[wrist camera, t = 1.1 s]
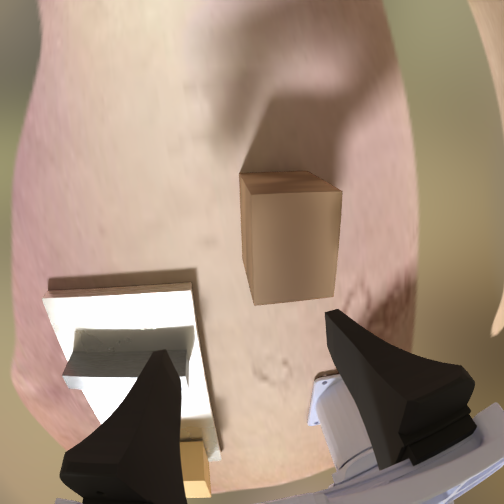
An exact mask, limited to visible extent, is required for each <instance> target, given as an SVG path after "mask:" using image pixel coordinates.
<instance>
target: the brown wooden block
mask: <svg viewBox="0 0 504 504" xmlns="http://www.w3.org/2000/svg"><path fill="white" fill-rule="evenodd" d="M239 182H240V209H241V234H242V258H243V263H244V267H245V271H246V275H247V279H248V283H249V287H250V291H251V295H252V299H253V303H254V306H256V305H266V304H276V303H285V302H294V301H303V300H312V299H320V298H328V297H334V288H335V279H336V270H337V259H338V248H339V236H340V223H341V208H342V191H341V190H339V189H338V188H336V187H334V186H332V185H331V184H329V183H327V182H326V181H324V180H322V179H320V178H319V177H317V176H315V175H313V174H312V173H310V172H308V171H286V172H258V173H239Z"/></svg>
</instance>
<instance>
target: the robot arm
mask: <svg viewBox="0 0 504 504" xmlns="http://www.w3.org/2000/svg"><path fill="white" fill-rule="evenodd" d="M325 321H326V335H327V347H328V349H329V352H330V354H331V357H332V360H333V362H334V364H335V366H336V368H337V370H338V372H339V374H337V375H332V376H326V377H321V378H317V379H316V380H315V381H314V385H313V391H312V397H311V403H310V409H309V415H308V421H307V423H308V425H309V426H314V425H319V424H320V425H321V428H322V431H323V434H324V437H325V439H326V442H327V445H328V448H329V451H330V454H331V456H332V459H333V462H334V465H335V468H336V470H337V472H335V473H333V474H332V477H333V480H334V483H333V484H331V485H330V486H329V487H328V489H325V490H321V491H318V492H314V493H306V494H300V495H295V496H291V497H286V498H282V499H277V500H272V501H267V502H261V503H256V504H454V501H453V500H455V499H456V498H458V497H459V496H461V495H462V494H464V493H465V492H467V491H468V490H470V489H471V488H473V487H474V486H476V485H477V484H479V483H480V482H482V481H483V480H484V479H486V478H487V477H488V476H490V475H491V474H493V473H494V472H496V471H497V470H498V469H500V468H501V467H502V466H503V465H504V411H503V409H502V408H501V407H500V405H499V404H498V403H497V402H495V403H493V404H492V405H490V406H489V407H487V408H486V409H484V410H483V411H481V412H480V413H478V414H477V415H476V416H475V417H474V418H473V419H472V418H471V416H470V415H469V413H470V412H471V410H470V408H469V407H468V406H467V403H468V401H469V399H470V397H471V395H472V392H473V390H474V386H475V381H474V380H473V379H472V377H471V376H470V375H469V373H468V372H467V371H466V370H465V369H464V368H463V367H462V366H461V365H454V364H448V363H442V362H438V361H434V360H430V359H426V358H423V357H420V356H417V355H414V354H411V353H409V352H406V351H404V350H402V349H399V348H397V347H395V346H393V345H391V344H389V343H387V342H385V341H384V340H382V339H380V338H378V337H377V336H375V335H374V334H372V333H371V332H369V331H368V330H366V329H365V328H363V327H362V326H360V325H359V324H357V323H356V322H355V321H353V320H352V319H351V318H349V317H348V316H347V315H345V314H344V313H343V312H342V311H340V310H339V309H335V310H332V311H328V312H325ZM181 411H182V387H181V379H180V377H179V375H178V373H177V371H176V369H175V367H174V365H173V363H172V361H171V359H170V357H169V354H168V352H167V350H166V349H163V350H158V351H153V353H152V355H151V356H150V358H149V359H148V361H147V363H146V365H145V366H144V368H143V370H142V371H141V373H140V375H139V376H138V378H137V380H136V381H135V383H134V384H133V386H132V387H131V389H130V390H129V392H128V393H127V395H126V396H125V398H124V399H123V400H122V402H121V403H120V404H119V406H118V407H117V408H116V409H115V410H114V412H113V413H112V414H111V415H110V416H109V417H108V418H107V419H106V420H105V421H104V422H103V423H102V424H101V425H100V426H99V427H98V428H97V429H96V430H95V431H94V432H93V433H92V434H90V435H89V436H88V437H87V438H85V439H84V440H83V441H82V442H80V443H79V444H77V445H76V446H74V447H73V448H71V449H70V450H68V451H67V452H65V455H64V459H63V463H62V467H61V471H60V479H61V480H62V482H63V483H64V484H65V485H66V486H68V487H69V488H70V489H72V490H73V491H74V492H76V493H77V494H79V495H80V496H81V497H83V502H82V503H80V502H77V501H73V500H67V499H61V498H56V501H55V504H187V500H186V494H185V488H184V482H183V474H182V466H181V454H180V427H181Z"/></svg>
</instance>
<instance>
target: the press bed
mask: <svg viewBox="0 0 504 504" xmlns="http://www.w3.org/2000/svg"><path fill="white" fill-rule="evenodd" d="M42 300H43V303H44V306H45V308H46V311H47V314H48V316H49V319H50V321H51V324H52V326H53V329H54V331H55V334H56V336H57V338H58V341H59V343H60V345H61V348H62V350H63V352H64V354H65V356H66V359H67V361H68V363H67V365H66V367H65V370H64V372H63V374H62V376H63V378H64V380H65V382H66V384H67V386H68V388H69V389H81V390H82V391H83V393H84V394H85V396H86V398H87V400H88V402H89V404H90V405H91V407H92V409H93V411H94V412H95V414H96V416H97V417H98V419H99V421H100V422H101V424H102V423H103V422H104V421H105V420H106V419H107V418H108V417H109V416H110V415H111V414H112V413H113V412H114V410H115V409H116V408H117V407H118V406H119V404H120V403H121V402H122V400H123V399H124V398H125V396H126V395H127V393H128V392H129V390H130V389H131V387H132V386H133V384H134V383H135V381H136V380H137V378H138V376H139V375H140V373H141V371H142V370H143V368H144V366H145V365H146V363H147V361H148V359H149V358H150V356H151V355H152V353H153V351H158V350H163V349H166V350H167V352H168V354H169V357H170V359H171V361H172V363H173V365H174V367H175V369H176V371H177V373H178V375H179V377H180V379H181V387H182V411H181V427H180V442H197V441H203V444H204V447H205V451H206V454H207V457H208V461H222V457H221V450H220V446H219V441H218V436H217V431H216V427H215V422H214V417H213V412H212V407H211V401H210V396H209V391H208V385H207V380H206V374H205V369H204V363H203V357H202V351H201V345H200V338H199V332H198V325H197V319H196V312H195V305H194V298H193V291H192V283H191V282H187V283H173V284H158V285H143V286H127V287H110V288H92V289H73V290H51V291H47V292H46V294H45V295H44V296H43V298H42Z"/></svg>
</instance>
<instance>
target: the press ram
mask: <svg viewBox="0 0 504 504" xmlns="http://www.w3.org/2000/svg"><path fill="white" fill-rule="evenodd" d="M180 454H181V466H182V474H183V482H184V488H185V494H186V498H198V497H199V498H201V497H211V487H210V473H209V461H208V457H207V454H206V451H205V447H204V444H203V441H197V442H180Z"/></svg>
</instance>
